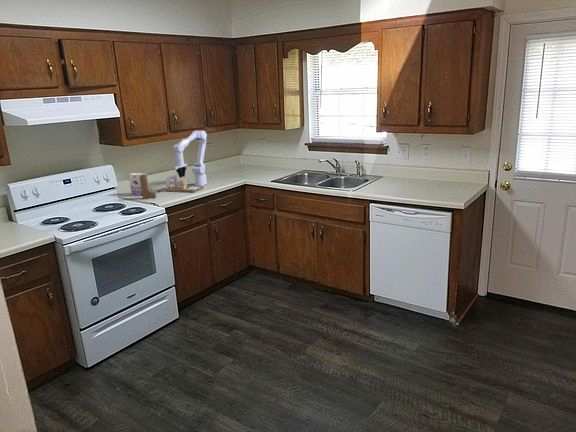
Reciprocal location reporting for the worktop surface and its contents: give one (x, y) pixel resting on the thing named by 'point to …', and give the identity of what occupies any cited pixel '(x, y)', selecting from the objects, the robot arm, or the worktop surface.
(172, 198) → the worktop surface
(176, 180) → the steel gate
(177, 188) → the puzzle board
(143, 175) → the brown boot
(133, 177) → the candy box
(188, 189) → the pad
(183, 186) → the birch block
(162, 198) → the worktop surface
